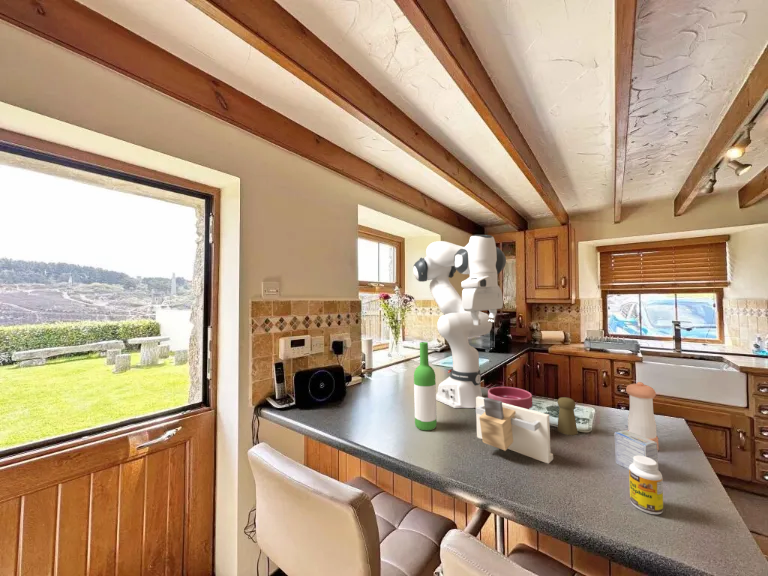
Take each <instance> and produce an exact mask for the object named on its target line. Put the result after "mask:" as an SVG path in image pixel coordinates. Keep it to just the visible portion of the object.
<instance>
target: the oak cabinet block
mask: <svg viewBox="0 0 768 576" xmlns="http://www.w3.org/2000/svg"><path fill="white" fill-rule="evenodd" d="M483 398H484V405H485V412H484V413H483V414H482V415H481V416H480V417H479V418H480V425H481V433H482V443H484V444H486V445H489V446H492V447H494V448H497V449H500V450H503V451H504V452H506V451H507V450H509V449H508V447H509V446H510V445H511V444H512V443H513V434H512V426H511V418H512V417H513V418H514V415H515V414H516V412H515V410H511V409H507V408H504V407H502V401H498V400H494V399H490V398H488V397H483Z"/></svg>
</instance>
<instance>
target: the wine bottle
mask: <svg viewBox="0 0 768 576" xmlns="http://www.w3.org/2000/svg"><path fill="white" fill-rule="evenodd" d="M436 383H437V382H436V372H435V370H434V369H433V367H432V366H430V364H429V343H428V342H426V341H420V342H419V365H418V366H417V367H416V368H415V370H414V372H413V393H414V394H413V396H414V397H413V400H414V403H413V404H414V425H415V427H416V428H417V429H418V430H421V431H432V430H434V429H435V428H437V424H438V423H437V418H438V417H437V400H436V393H437V390H436V389H437V388H436V387H437V384H436Z"/></svg>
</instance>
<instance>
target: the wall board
mask: <svg viewBox="0 0 768 576" xmlns="http://www.w3.org/2000/svg"><path fill="white" fill-rule="evenodd" d="M484 398H485V397H484V396H482V397H479V396H478V397H476V408H475V415H476V416H475V417H476V438H477V439H480V440H481V439H482V433H481V425H480V418H479V417H480V416H481V415H482V414H483V413H484V412H485V405H484ZM502 407H504V408H507V409H511V410H515V412H516V414H515V415H514V418H513V417H512V418H511V426H512V434H513V443H512V444H511V445H510V446H509V447H508V449H507V450H511V451H514V452H516V453H518V454H521V455H523V456H527V457H528V458H529V457H530V458H532V459H534V460H537V461H540V462H543V463H545V464H548V465H549V464H550V463H552V461H553V460H554V454H553V453H552V452H551V432H550V431H551V430H550V427H551V426H550V414H548V413H544V412H540V411H536V410H532V409H530V408H529V409H525V408H521V407H518V406H514V405H510V404H506V403H502Z"/></svg>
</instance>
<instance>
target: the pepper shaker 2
mask: <svg viewBox="0 0 768 576" xmlns="http://www.w3.org/2000/svg"><path fill="white" fill-rule="evenodd" d="M625 391H626V393H627V395H629V398H628V399H629V411H628V416H627V417H628V418H627V426H628V427H627V428H628V429H626V430H627V431H630V432H632V433H635V434H637V435H640V436H642V437H645V438H647V439H650V440H652V441H654V442H656V443H657V451H659V450H660V449H659V448H660V447H659V437H658V435H657V423H656V420H655V419H656V418H655V415H654V403H653V402H654V401H653V399H654V398H655V397H656V396H657V393H656V391H655V389H654V388H653V387H652V386H649V385H646V384H644V383H643V382H641V381H638V382H637V383H631V384H628V385H627V386H626V388H625Z"/></svg>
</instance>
